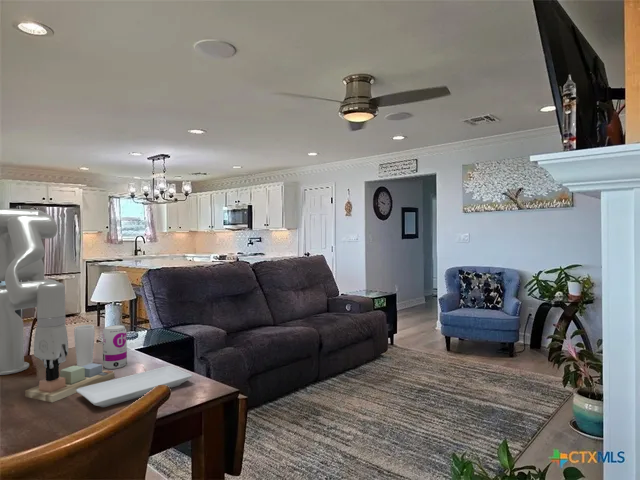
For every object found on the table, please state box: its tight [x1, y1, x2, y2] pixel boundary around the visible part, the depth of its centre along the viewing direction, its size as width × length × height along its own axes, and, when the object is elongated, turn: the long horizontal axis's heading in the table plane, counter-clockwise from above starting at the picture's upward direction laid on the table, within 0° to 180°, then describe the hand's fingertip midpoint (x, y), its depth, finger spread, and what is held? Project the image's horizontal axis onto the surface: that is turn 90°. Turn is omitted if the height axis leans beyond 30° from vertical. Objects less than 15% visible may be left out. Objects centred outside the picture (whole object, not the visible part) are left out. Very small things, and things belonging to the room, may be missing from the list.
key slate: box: [82, 362, 103, 378], centre depth 147 cm, size 5×5×4 cm
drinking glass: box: [73, 324, 96, 367], centre depth 161 cm, size 7×7×15 cm
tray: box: [76, 365, 194, 408], centre depth 137 cm, size 17×31×4 cm, turn 137°
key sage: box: [59, 365, 85, 385], centre depth 140 cm, size 5×5×4 cm
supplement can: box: [102, 324, 128, 370], centre depth 161 cm, size 8×8×15 cm
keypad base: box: [24, 369, 116, 403], centre depth 140 cm, size 12×23×2 cm, turn 159°
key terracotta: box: [38, 376, 66, 393], centre depth 134 cm, size 5×5×4 cm
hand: (52, 379), depth 133 cm, fingers closed
